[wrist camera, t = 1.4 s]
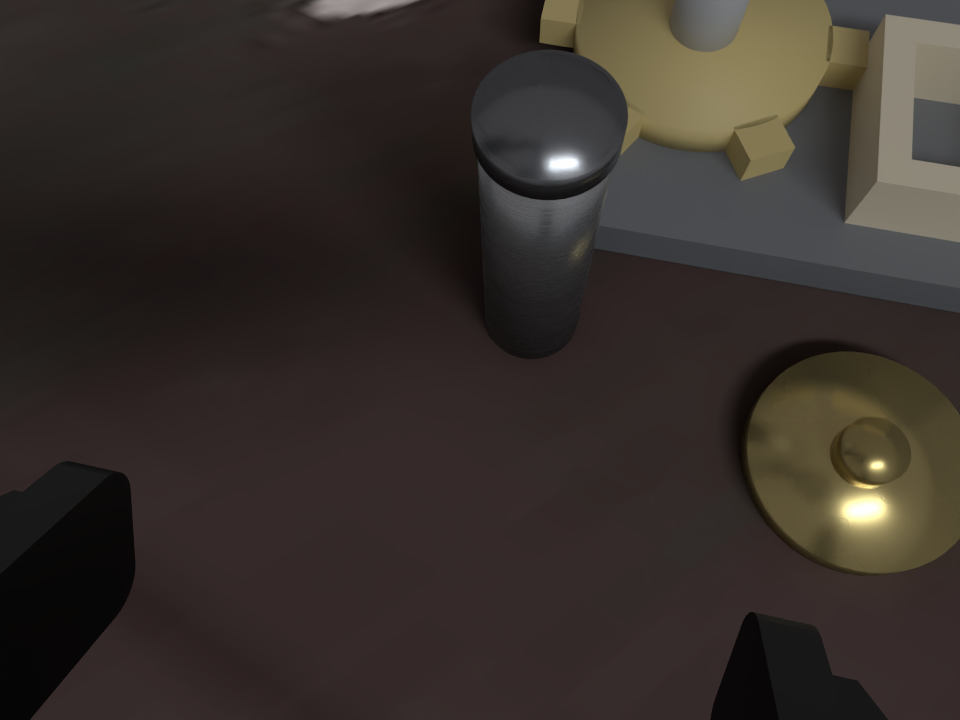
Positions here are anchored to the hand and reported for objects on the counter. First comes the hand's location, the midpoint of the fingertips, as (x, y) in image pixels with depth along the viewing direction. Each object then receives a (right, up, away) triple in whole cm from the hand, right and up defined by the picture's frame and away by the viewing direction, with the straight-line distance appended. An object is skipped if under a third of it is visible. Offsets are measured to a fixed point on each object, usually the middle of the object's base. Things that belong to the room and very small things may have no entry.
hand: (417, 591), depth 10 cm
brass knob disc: (+13, 0, +16) cm, 20 cm away
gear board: (+13, +12, +20) cm, 27 cm away
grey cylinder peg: (+3, +5, +17) cm, 18 cm away
